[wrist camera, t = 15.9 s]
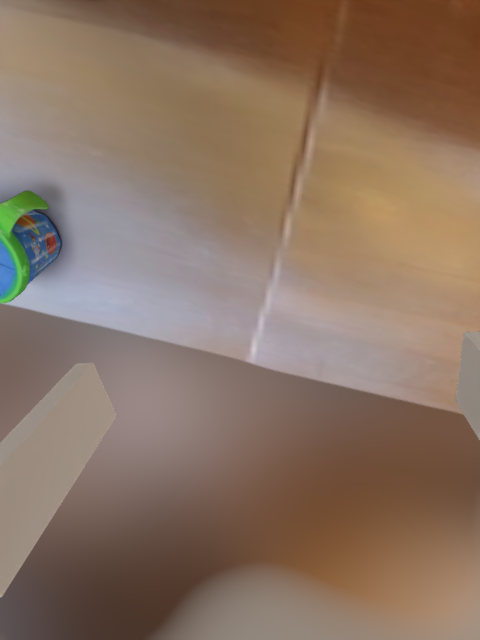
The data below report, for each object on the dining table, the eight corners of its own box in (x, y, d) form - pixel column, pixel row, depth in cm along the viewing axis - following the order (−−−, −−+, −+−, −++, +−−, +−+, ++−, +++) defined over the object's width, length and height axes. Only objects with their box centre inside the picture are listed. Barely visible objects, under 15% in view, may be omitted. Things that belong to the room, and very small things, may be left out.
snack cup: (38, 297, 51) (-17, 332, 42) (-24, 242, 48) (-97, 267, 39) (100, 230, 45) (51, 253, 36) (33, 162, 42) (-38, 168, 33)
